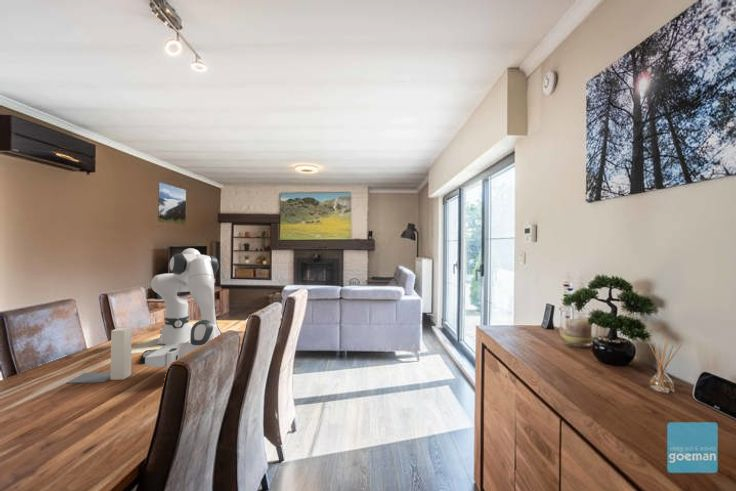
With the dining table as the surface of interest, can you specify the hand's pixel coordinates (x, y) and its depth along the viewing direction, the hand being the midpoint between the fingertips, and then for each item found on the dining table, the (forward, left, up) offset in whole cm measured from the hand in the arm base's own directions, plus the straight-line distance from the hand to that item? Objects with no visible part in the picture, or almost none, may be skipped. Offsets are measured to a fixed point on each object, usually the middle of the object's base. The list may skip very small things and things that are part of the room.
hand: (145, 354), depth 140 cm
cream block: (-4, -8, -9) cm, 13 cm away
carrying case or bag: (-24, +5, -10) cm, 27 cm away
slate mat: (-10, -17, -9) cm, 22 cm away
